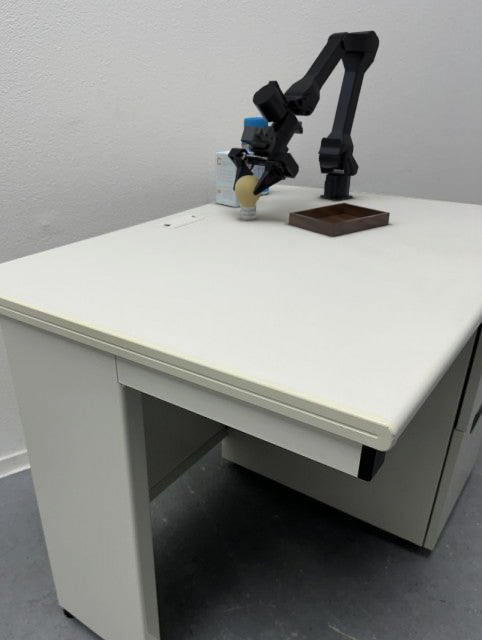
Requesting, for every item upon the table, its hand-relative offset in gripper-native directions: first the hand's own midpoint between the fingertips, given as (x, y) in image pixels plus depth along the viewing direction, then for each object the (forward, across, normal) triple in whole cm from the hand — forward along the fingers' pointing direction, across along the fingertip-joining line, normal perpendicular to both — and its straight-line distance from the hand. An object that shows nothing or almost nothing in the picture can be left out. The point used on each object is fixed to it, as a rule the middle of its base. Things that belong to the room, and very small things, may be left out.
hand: (244, 192), depth 127 cm
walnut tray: (-4, +19, +13) cm, 23 cm away
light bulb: (+4, 0, +6) cm, 7 cm away
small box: (-3, -16, +13) cm, 21 cm away
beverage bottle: (-13, -22, +23) cm, 34 cm away
